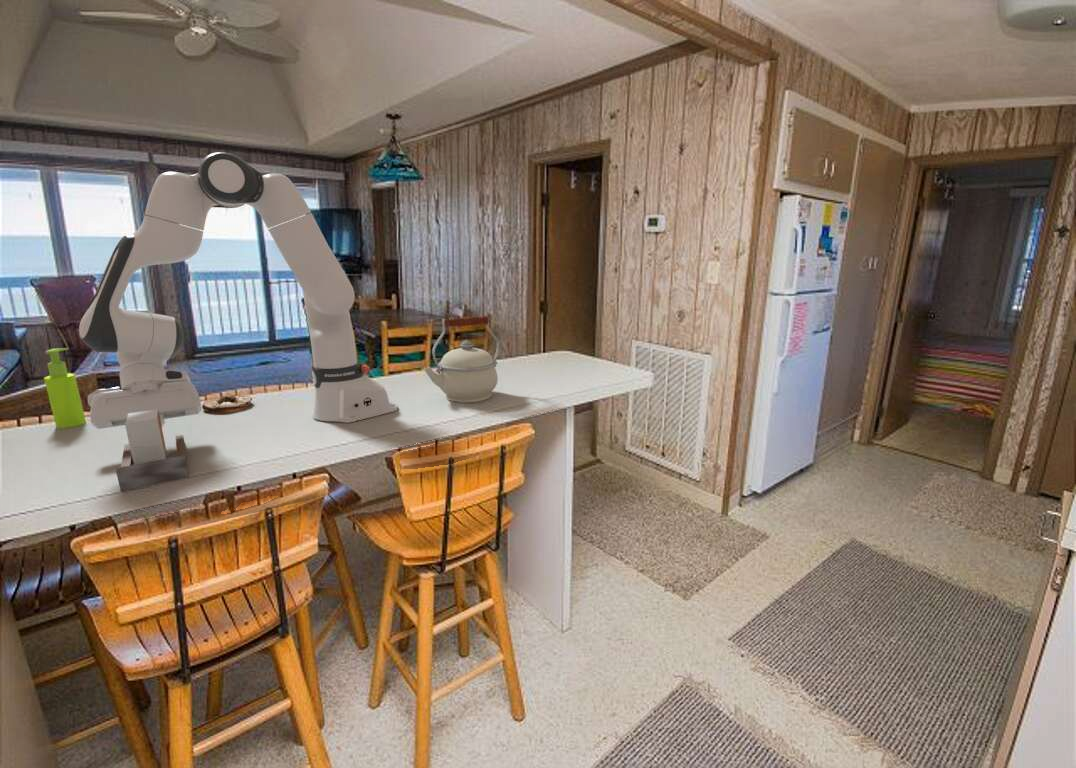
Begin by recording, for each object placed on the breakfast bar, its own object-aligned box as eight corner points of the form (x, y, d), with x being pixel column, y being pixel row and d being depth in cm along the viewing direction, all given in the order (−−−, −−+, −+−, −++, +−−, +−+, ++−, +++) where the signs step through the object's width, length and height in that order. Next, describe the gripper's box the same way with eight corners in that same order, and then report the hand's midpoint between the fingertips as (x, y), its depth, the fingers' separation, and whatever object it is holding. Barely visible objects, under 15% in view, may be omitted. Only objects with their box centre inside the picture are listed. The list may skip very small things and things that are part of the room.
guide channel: (184, 442, 123) (181, 426, 122) (189, 476, 105) (185, 458, 104) (126, 452, 117) (122, 436, 116) (120, 490, 99) (116, 471, 98)
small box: (167, 464, 111) (157, 418, 108) (134, 470, 108) (124, 423, 105) (167, 452, 117) (158, 408, 114) (136, 458, 114) (127, 412, 111)
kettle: (486, 385, 175) (484, 311, 168) (513, 398, 160) (512, 318, 153) (415, 396, 162) (410, 316, 155) (437, 411, 147) (432, 324, 140)
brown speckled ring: (187, 411, 148) (185, 397, 147) (239, 398, 160) (237, 385, 159) (215, 420, 140) (213, 405, 139) (267, 406, 153) (265, 392, 152)
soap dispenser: (93, 418, 140) (76, 346, 135) (76, 427, 133) (57, 351, 128) (69, 420, 139) (51, 346, 134) (50, 428, 132) (30, 352, 127)
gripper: (83, 383, 112) (88, 439, 107) (194, 371, 124) (204, 420, 119) (90, 398, 117) (95, 452, 112) (197, 385, 128) (206, 433, 123)
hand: (152, 436), depth 115 cm, fingers closed, pressing on small box
